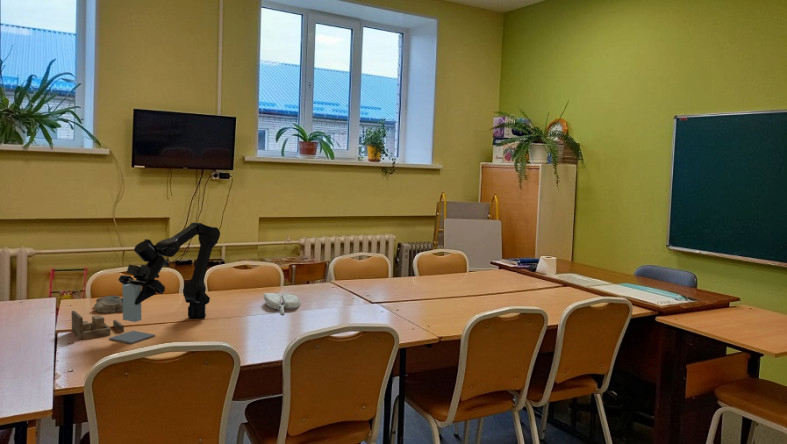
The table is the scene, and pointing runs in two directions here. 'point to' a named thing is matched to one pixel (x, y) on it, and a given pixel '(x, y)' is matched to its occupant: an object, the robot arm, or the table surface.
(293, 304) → the lung model
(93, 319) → the offcut tall
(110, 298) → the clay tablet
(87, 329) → the offcut short
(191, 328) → the table surface
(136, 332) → the mat
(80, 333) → the rack
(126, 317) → the pale blue wedge-ended prism
